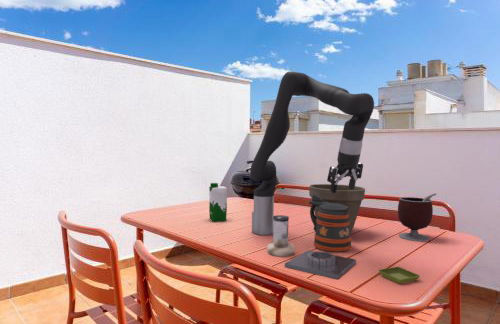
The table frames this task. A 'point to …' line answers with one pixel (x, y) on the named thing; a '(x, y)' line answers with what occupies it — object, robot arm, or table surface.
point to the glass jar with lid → (280, 231)
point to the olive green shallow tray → (399, 274)
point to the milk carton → (217, 202)
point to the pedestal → (280, 250)
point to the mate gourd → (415, 216)
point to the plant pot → (340, 198)
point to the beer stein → (330, 225)
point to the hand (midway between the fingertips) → (342, 190)
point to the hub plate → (321, 269)
